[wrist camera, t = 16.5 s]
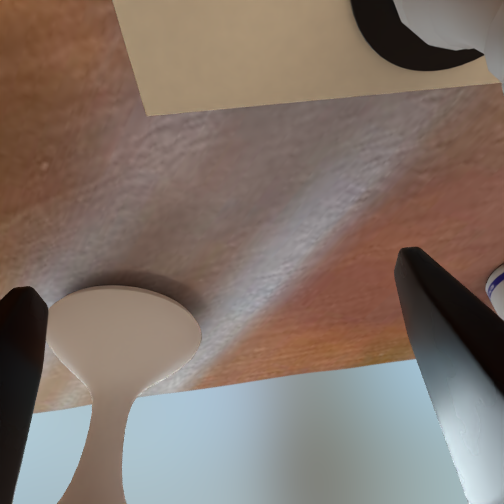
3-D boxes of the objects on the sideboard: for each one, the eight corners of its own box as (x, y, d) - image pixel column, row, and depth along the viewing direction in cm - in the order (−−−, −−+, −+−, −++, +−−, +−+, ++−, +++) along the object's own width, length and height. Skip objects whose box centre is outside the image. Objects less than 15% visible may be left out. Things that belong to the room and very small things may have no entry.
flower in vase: (61, 251, 26) (-229, 1043, 10) (225, 293, 30) (221, 904, 14) (40, 346, 35) (-134, 853, 18) (170, 368, 39) (126, 802, 22)
